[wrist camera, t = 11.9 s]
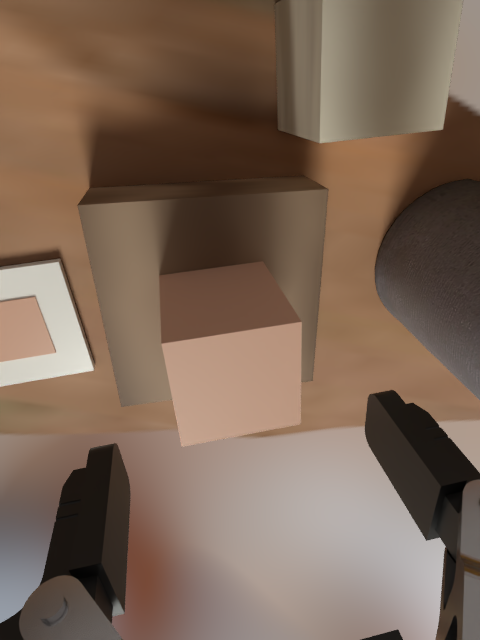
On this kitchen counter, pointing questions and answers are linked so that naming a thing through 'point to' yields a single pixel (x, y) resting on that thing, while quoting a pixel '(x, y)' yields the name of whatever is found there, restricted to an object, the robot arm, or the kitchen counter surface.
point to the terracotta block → (230, 352)
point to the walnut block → (196, 258)
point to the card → (39, 324)
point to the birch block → (363, 66)
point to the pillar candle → (437, 276)
